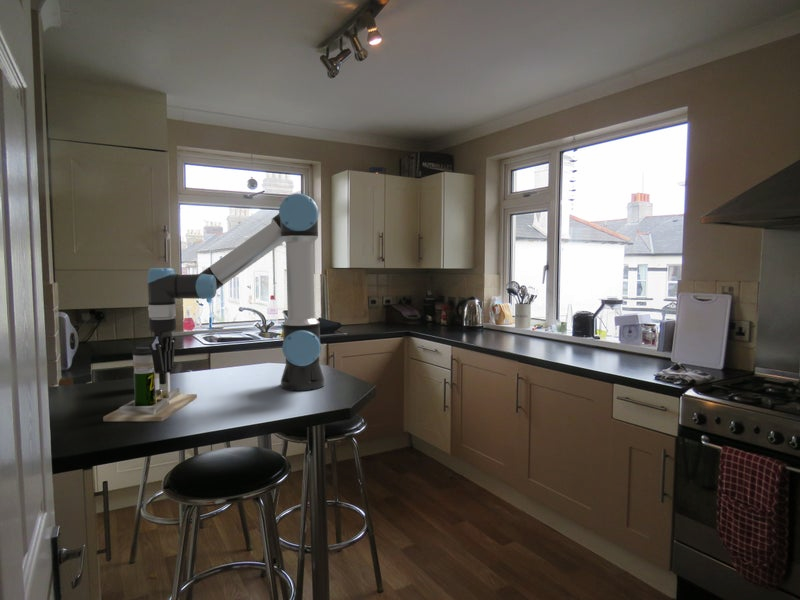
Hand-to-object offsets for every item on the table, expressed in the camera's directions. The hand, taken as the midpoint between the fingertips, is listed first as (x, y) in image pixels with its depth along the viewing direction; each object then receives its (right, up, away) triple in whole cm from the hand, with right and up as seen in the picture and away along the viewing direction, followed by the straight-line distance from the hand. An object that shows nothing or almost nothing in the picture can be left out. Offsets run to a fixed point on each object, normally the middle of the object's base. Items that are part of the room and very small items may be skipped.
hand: (164, 393), depth 157 cm
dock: (0, -3, -7) cm, 8 cm away
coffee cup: (-13, -2, +16) cm, 20 cm away
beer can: (0, -3, -12) cm, 13 cm away
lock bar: (0, -2, -5) cm, 5 cm away
